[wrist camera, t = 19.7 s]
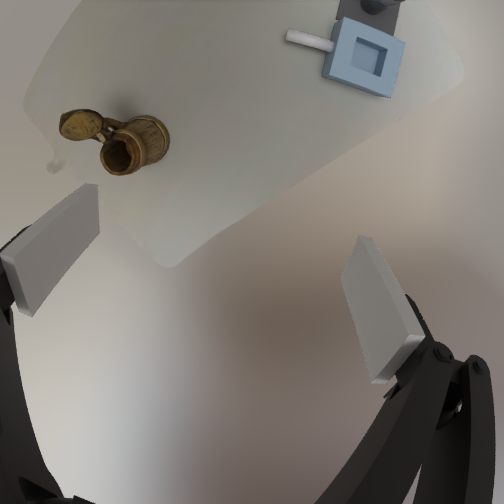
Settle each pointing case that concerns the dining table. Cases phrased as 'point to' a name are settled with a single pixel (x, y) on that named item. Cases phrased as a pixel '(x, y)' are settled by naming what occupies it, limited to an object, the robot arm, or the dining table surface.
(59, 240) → the robot arm
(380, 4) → the bottle
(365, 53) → the block
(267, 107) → the dining table surface
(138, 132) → the wooden mug
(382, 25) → the mat
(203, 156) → the dining table surface
